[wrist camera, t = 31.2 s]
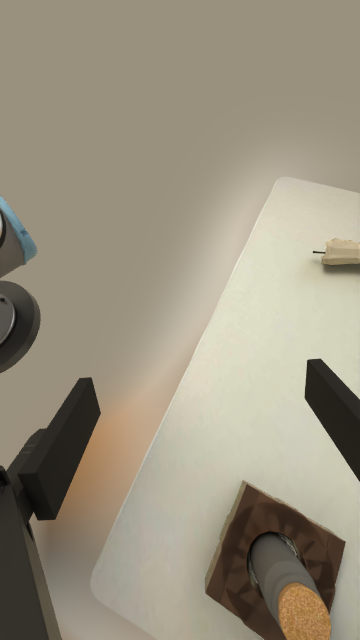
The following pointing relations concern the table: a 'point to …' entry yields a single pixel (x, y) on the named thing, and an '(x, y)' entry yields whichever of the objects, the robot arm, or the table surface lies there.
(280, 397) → the table surface
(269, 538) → the bottle
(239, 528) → the socket plate
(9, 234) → the robot arm
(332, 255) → the faceted club
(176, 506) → the table surface
